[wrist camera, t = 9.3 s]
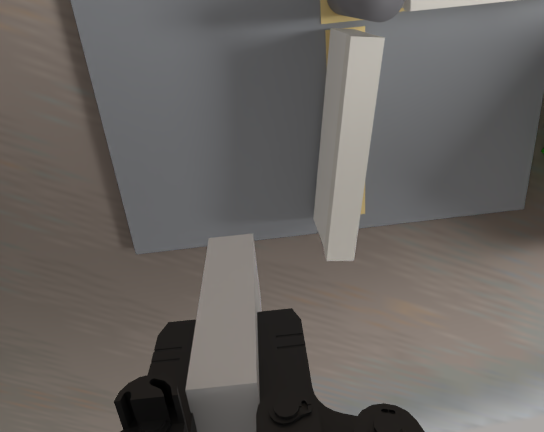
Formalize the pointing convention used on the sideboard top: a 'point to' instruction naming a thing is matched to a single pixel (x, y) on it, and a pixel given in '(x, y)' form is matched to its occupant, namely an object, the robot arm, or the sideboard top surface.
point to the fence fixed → (393, 7)
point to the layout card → (307, 112)
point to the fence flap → (346, 138)
